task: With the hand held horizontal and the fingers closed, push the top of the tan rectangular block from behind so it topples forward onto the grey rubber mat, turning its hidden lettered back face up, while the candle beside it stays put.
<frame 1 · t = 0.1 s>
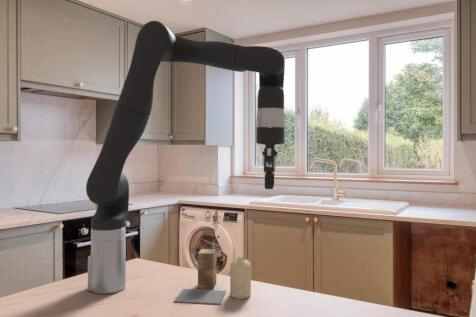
hand: (269, 187, 102), 29 cm above the countertop, tool pointing down, fingers open, 8 cm apart
mat: (200, 296, 102), on the countertop
tan rectangular block: (207, 285, 111), on the countertop
candle: (240, 295, 104), on the countertop
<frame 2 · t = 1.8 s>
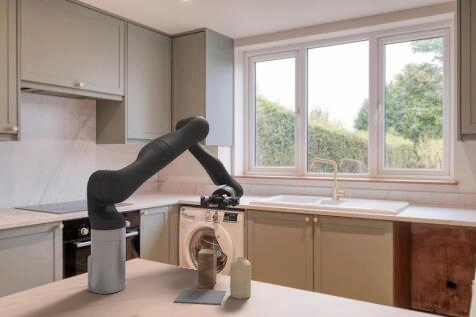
hand: (214, 204, 122), 22 cm above the countertop, tool horizontal, fingers open, 5 cm apart
nothing on the countertop moved.
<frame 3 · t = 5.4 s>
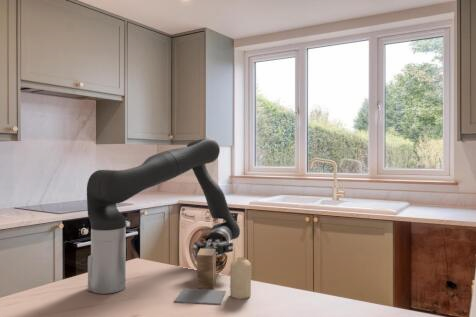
hand: (207, 253, 112), 9 cm above the countertop, tool horizontal, fingers closed
tan rectangular block: (207, 284, 111), on the countertop, tilted 9°, touching gripper
everything else where it was.
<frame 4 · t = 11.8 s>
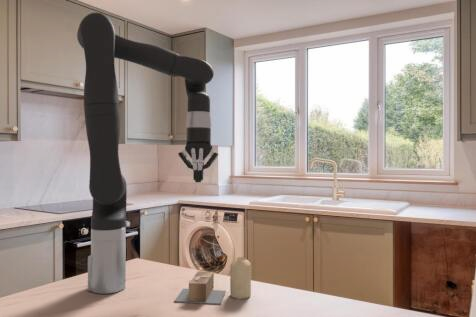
hand: (198, 182, 121), 29 cm above the countertop, tool pointing down, fingers closed
tan rectangular block: (205, 279, 109), point 3 cm above the countertop, tilted 90°, touching mat
everything else where it was.
at the end: tan rectangular block tilted 90°; tan rectangular block inside the target area (2.3 cm from its centre), point 2.5 cm above the countertop; the gripper is holding nothing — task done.
